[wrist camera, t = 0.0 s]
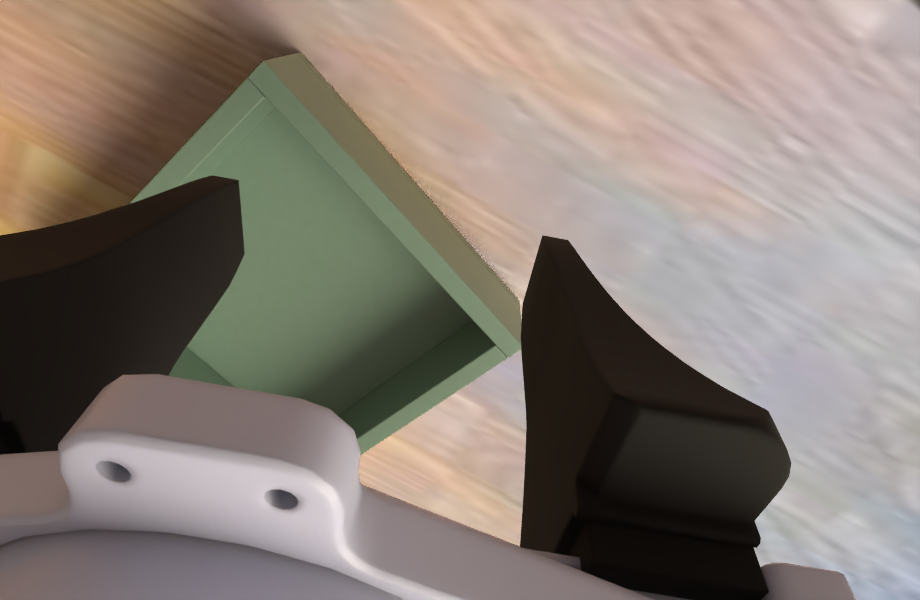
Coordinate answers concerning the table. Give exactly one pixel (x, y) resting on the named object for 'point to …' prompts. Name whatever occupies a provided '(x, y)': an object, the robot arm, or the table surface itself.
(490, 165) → the table surface
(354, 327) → the basin
